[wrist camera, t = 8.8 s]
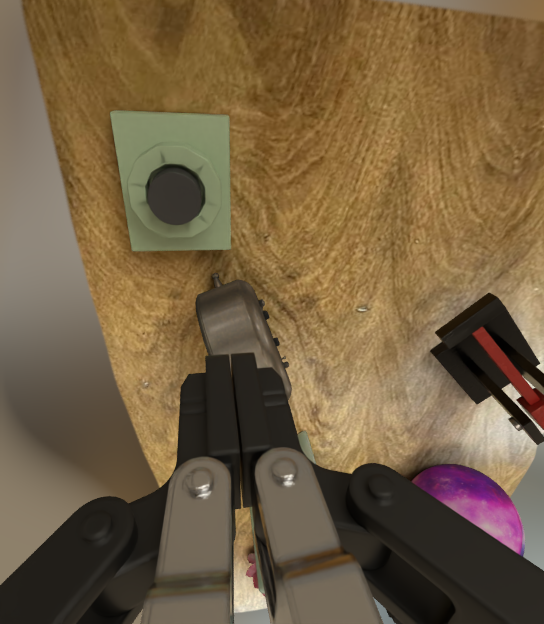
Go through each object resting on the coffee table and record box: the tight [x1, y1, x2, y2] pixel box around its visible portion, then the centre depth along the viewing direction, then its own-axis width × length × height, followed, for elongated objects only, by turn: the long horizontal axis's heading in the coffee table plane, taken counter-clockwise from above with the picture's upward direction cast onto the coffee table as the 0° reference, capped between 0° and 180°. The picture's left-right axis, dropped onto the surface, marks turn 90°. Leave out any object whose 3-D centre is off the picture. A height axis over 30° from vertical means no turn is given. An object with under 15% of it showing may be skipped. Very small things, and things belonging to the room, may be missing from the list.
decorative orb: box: [411, 464, 525, 557], centre depth 51 cm, size 15×15×15 cm
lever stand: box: [431, 309, 544, 445], centre depth 41 cm, size 12×9×11 cm
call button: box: [147, 168, 201, 225], centre depth 26 cm, size 4×4×2 cm
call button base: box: [110, 110, 231, 251], centre depth 28 cm, size 10×8×4 cm
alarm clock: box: [196, 273, 292, 400], centre depth 30 cm, size 11×5×16 cm, turn 18°
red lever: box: [435, 293, 544, 430], centre depth 36 cm, size 15×6×2 cm, turn 42°
